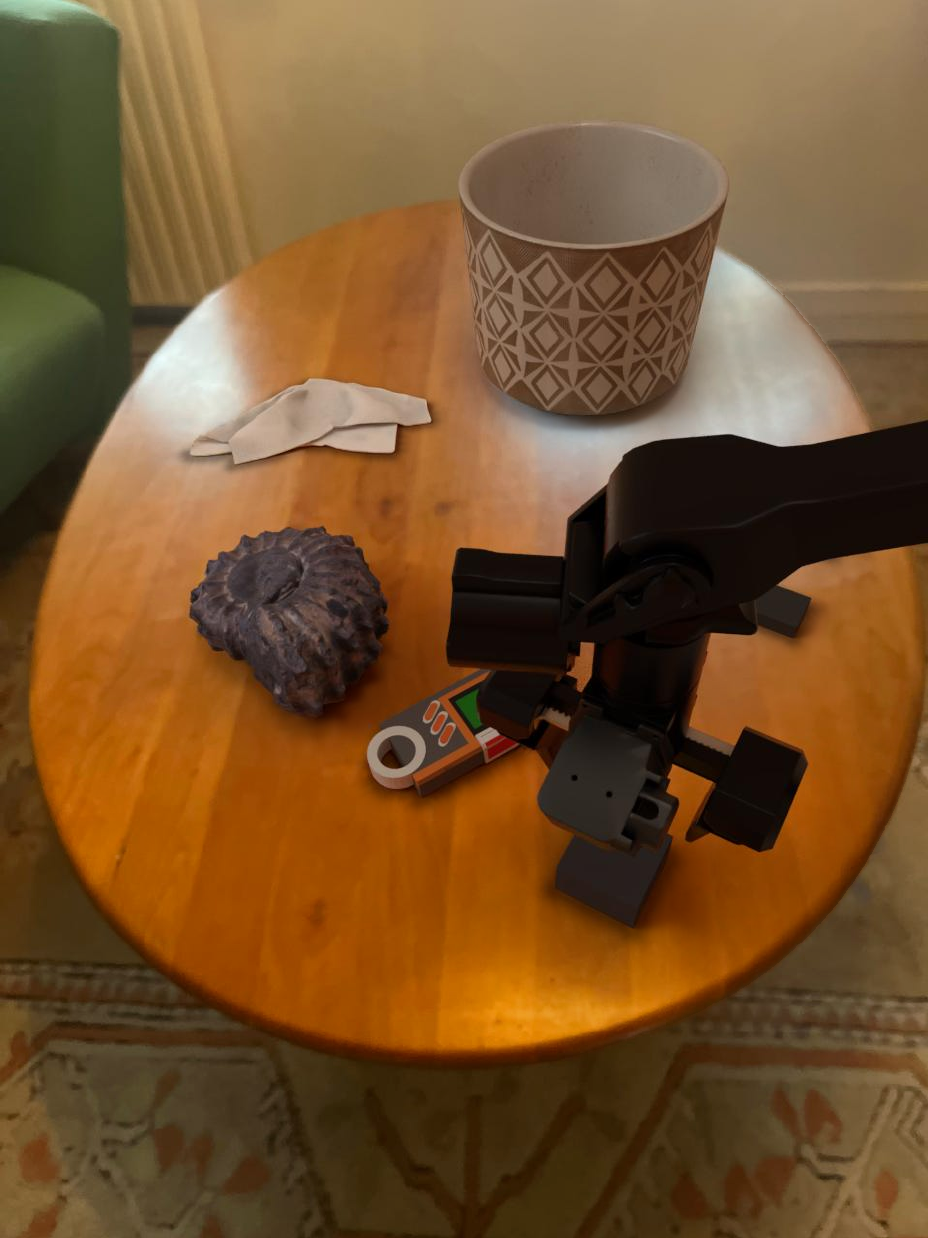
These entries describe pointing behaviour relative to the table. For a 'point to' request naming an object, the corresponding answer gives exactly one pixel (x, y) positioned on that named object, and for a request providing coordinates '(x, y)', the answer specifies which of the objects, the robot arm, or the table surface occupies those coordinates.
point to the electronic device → (436, 739)
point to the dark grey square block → (610, 877)
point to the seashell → (294, 613)
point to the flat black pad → (782, 610)
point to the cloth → (316, 421)
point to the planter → (589, 260)
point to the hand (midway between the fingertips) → (624, 804)
